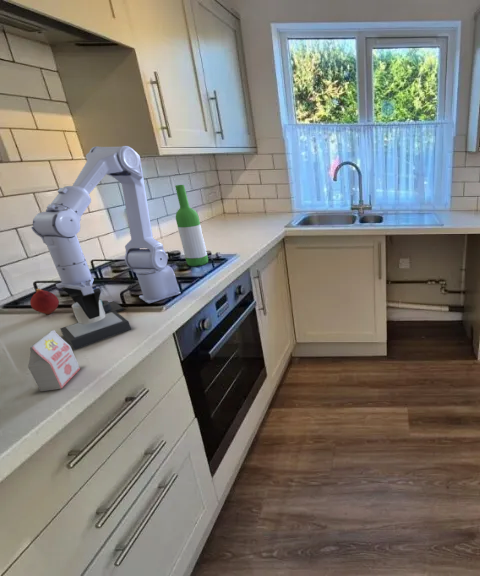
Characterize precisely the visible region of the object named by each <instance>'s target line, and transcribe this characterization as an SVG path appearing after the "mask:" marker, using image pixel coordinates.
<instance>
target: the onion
mask: <svg viewBox="0 0 480 576" xmlns="http://www.w3.org/2000/svg"><path fill="white" fill-rule="evenodd" d="M35 291H36V292H35V293H33V295H32V296H31V298H30V301H29V303H30V306H31V308H32V310H34V311H35V312H37V313H38V312H39V313H42V314H45V315H51V314H52V313H54V312H55V311H56V309H57V308H58V307H59V304H60V301H59V298H58V297H57V296H56V295H55V294H54V293H53V292H51V291H48V290H45V289H42V288H41V289H40V288H36V289H35Z"/></svg>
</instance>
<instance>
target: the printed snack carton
mask: <svg viewBox="0 0 480 576" xmlns="http://www.w3.org/2000/svg"><path fill="white" fill-rule="evenodd" d="M29 352H30V353H29V360H28V365H27V368H28V369H29V370H28V371H29V372H30V373H31V375H32V379H33V380H34V381H35V383H36V386H37V388H38V389H39V392H46V391H47V392H48V391H52V390H53V391H54V390H62V389H63V388H64V387H65V386H66V384H68V382H70V380H71V379H73V377H74V376H75V375H76V374H77V373H78V372H79V371H80V370H81V367H80V365H79V362H78V360H77V358H76V356H75V353H74V351H73V349H72V346H71V345H70V344H69V342H68V341H66V340H65V339H63V338H62V337H61V336H60V335H59V334H58V333H57V332H56V330H55V329H53V330H50V331H49V332H48V333H46V334H45V335H44V336H43V337H41V338H40V339H39V340H37V341H36V342H35V343H34V344H32V345H31V346H30V347H29Z"/></svg>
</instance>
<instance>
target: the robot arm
mask: <svg viewBox="0 0 480 576" xmlns="http://www.w3.org/2000/svg"><path fill="white" fill-rule="evenodd" d="M85 158H86V162H85V163H84V166H83V167H82V169H81V171H80V173H79V174H78V176H77V177H76V179H75V181H74V182H73V184H72V185H66V186H63V187H60V188H59V189H58V190H57V193H58V194H56V196H55V197H54V199H53V200H52V202H51V203H49V204H48V205H47V206H46V210H45V211H41V212H38V213H37V214H36V215H35V216H34V218H33V219H32V226H31V227H30V229H31V230H32V232H33V233H34V234H35V235H37V236H38V237H40V239H41V240H42V242H43V244H45V245H46V247H47V249H48V252H49V255H50V257H51V259H52V262H53V265H54V267H55V270H56V271H57V274H58V277H59V279H60V281H61V282H58V283H55V286H56V288H57V289H61V290H62V291H63V292H65V293H66V294H67V295H69V297H70V298H71V299H72V300H73V302H74V303H76V302H78V304H79V305H80V306H81V308H82V309H83V311H84V312H85V314H86V315H87V317H88V318H89V319H92V318H95V317H98V316H100V311H99V299H100V296H101V293H102V291H101V289H100V288H99V287H97V288H95V289H94V288H93V283H94V280H95V279H94V276H93V275H92V273H91V269H90V267H89V264H88V262H87V258H86V257H85V255H84V252H83V248H82V245H81V242H80V240H79V238H78V235H77V234H78V233H80V231H81V220H82V216H83V215H84V213H85V211H86V210H87V209H88V207H89V206H90V205H91V203H92V198H91V196H90V194H91V193H92V191H93V190H94V189H95V188H96V187H97V186H98V184H99V183H100V182H101V181H102V180H103V179H104V177H106V175H107V176H108V177H111V178H112V179H115V180H116V181H118V183H120V184H121V188H122V193H123V199H124V200H123V201H124V205H125V211H126V216H127V222H128V229H129V235H130V240H129V241H128V242H127V243H126V244H125V246H124V249H125V253H124V263H125V265H126V266H127V268H128V269H130V270H132V272H133V273H135V274H136V277H137V280H138V284H139V287H140V290H141V293H142V294H141V295H139V296H138V298H139V299H140V300H142V301H144V302H145V303H147V304H153V303H156V302H159V301H163V300H166V299H168V298H172V297H174V296H177V295H181V291H180V289H179V285H178V281H177V277H176V274H175V272H174V269H173V268H172V267H171V266H170V265H168V255H167V252H166V251H165V248H164V244H163V243H161V242H160V241H158V240H157V239H155V237H154V235H153V229H152V223H151V217H150V210H149V205H148V197H147V191H146V185H145V179H144V174H143V168H142V167H143V166H142V161H141V160H142V159H141V156H140V154H138V152H137V151H135V150H134V148H132V146H131V147H130V146H128V145H122V146H93V147H91V148H90V149H89V151H88V153H86V154H85Z"/></svg>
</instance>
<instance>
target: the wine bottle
mask: <svg viewBox="0 0 480 576" xmlns="http://www.w3.org/2000/svg"><path fill="white" fill-rule="evenodd" d="M174 188H175V191H176V195H177V200H178V205H179V209H178V210H177V211H176V213H175V221H176V225H177V230H178V234H179V237H180V242H181V246H182V250H183V253H184V258H185V261H186V264H187V266H188V267H200V266H203V265H206V264H208V263H209V257H208V251H207V247H206V242H205V238H204V235H203V229H202V226H201V221H200V217H199V214H198V212H197V211H196V210H195V209H193V208H192V207H190V203H189V199H188V195H187V191H186V187H185V185H184V184H177V185H175V187H174Z"/></svg>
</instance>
